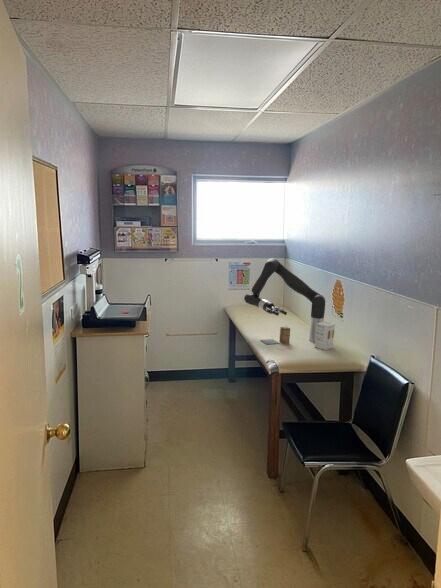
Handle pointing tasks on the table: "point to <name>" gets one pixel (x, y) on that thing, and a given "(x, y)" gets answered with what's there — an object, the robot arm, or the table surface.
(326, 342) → the supplement box
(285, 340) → the walnut block
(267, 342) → the mat
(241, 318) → the table surface
